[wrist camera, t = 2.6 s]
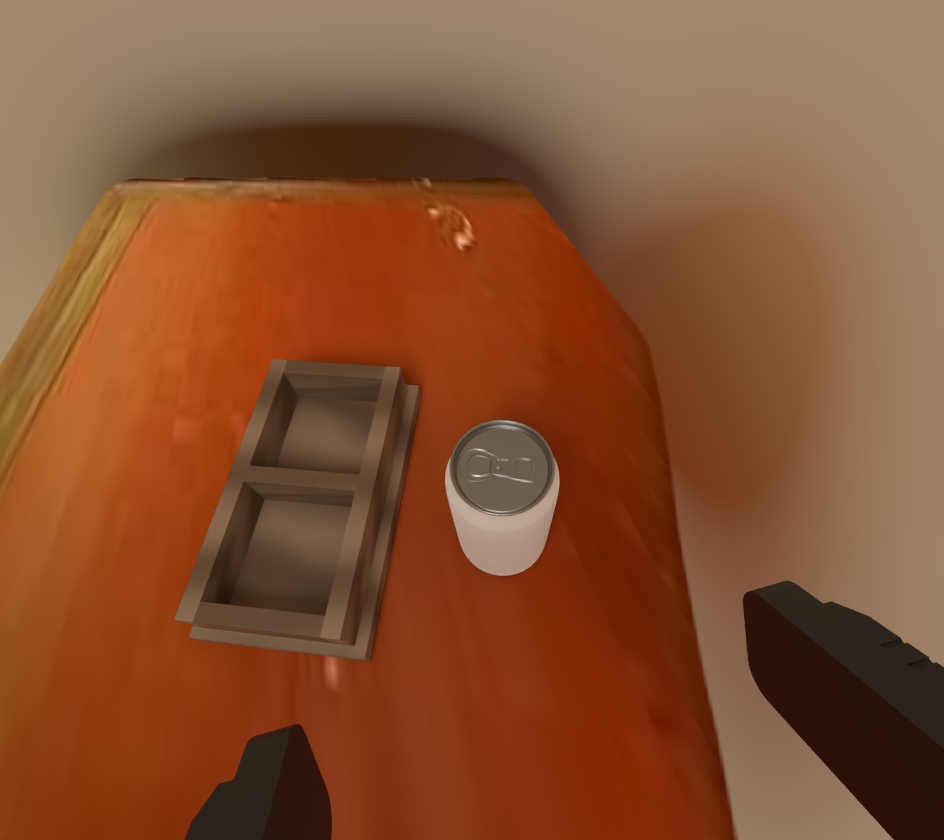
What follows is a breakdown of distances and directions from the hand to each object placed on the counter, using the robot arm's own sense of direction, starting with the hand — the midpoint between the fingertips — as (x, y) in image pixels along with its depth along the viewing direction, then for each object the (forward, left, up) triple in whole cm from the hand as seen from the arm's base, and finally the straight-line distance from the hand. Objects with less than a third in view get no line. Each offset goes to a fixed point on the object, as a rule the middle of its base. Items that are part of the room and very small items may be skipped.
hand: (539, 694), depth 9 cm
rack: (+12, +16, -26) cm, 33 cm away
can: (+11, +2, -26) cm, 29 cm away
